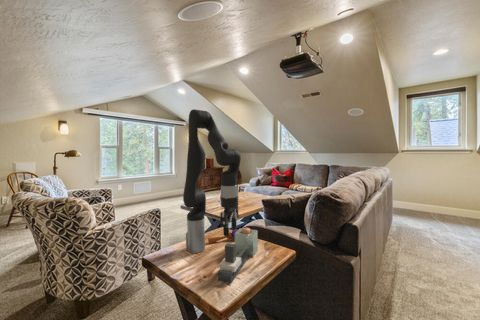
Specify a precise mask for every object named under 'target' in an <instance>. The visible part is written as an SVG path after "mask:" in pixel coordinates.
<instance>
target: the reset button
mask: <svg viewBox="0 0 480 320" xmlns="http://www.w3.org/2000/svg"><path fill="white" fill-rule="evenodd" d="M242 228H243V229H242V233H243V234H250V229H251V228H250V227H242Z"/></svg>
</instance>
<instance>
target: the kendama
mask: <svg viewBox="0 0 480 320" xmlns="http://www.w3.org/2000/svg"><path fill="white" fill-rule="evenodd" d="M238 230H239V229H237V228H236V229H232V231H229V236H224V235H223V236H215V237H208V238H207V240H208V241H207V242H208V244H209V245H210V244H213V243H216V242H218V241H221V240H223V239H228V240H235V233H236V232H237V231H238Z"/></svg>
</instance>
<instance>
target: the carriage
mask: <svg viewBox="0 0 480 320" xmlns="http://www.w3.org/2000/svg"><path fill="white" fill-rule="evenodd" d="M240 264H241V258H240V257H236V244H235V243H230V242H227V243H226V244H225V245H224V258H223V259H222V260H221V262H220V263H219V270H224V271H230V272H232V273H233V272H235V271H236V270H237V268H238V267H239V266H240Z"/></svg>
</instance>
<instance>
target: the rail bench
mask: <svg viewBox="0 0 480 320" xmlns="http://www.w3.org/2000/svg"><path fill="white" fill-rule="evenodd" d="M243 228H244V227H242V228H241V227H239V229H238V231H237V232H236V233H235V239H234V244H236V257H240V258H241V264H240V266H239V267H238V268H237V270H236V271H235V272H233V273H232V272H230V271H224V270H220V269H218V270H217V281H219V282H223V283H226V284H232V283H233V282H234V280H235V278H237V276H238V275H239V273H240V271H241V270H242V268H243V267H244V266H245V264H246V263H247V261H248V260H249V258H254V257H255V255H257V252H258V243H259V242H258V241H259V239H258V230H257V229H251V228H250V234H243V233H242V229H243Z"/></svg>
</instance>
